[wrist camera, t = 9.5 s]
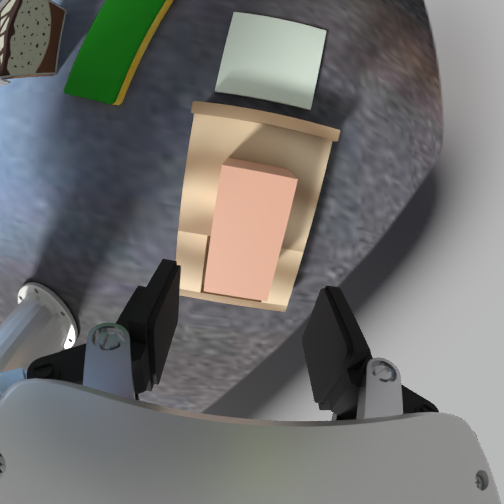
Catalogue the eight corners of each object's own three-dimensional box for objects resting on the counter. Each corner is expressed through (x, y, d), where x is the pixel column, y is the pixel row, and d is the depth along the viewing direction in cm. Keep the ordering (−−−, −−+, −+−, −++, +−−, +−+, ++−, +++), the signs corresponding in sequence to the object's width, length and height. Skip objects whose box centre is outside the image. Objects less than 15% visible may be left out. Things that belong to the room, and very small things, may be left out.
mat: (309, 110, 23) (310, 109, 23) (215, 92, 22) (214, 91, 22) (324, 32, 19) (326, 30, 19) (234, 14, 19) (233, 11, 18)
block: (267, 301, 22) (297, 179, 18) (203, 291, 22) (222, 165, 18) (264, 270, 27) (287, 169, 23) (211, 261, 26) (227, 157, 22)
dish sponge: (74, 94, 22) (62, 93, 19) (125, -10, 16) (116, -18, 14) (122, 106, 23) (112, 105, 21) (178, -5, 18) (173, -14, 15)
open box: (282, 296, 32) (286, 320, 28) (179, 279, 31) (170, 302, 27) (325, 129, 24) (340, 130, 20) (202, 105, 23) (192, 100, 19)
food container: (35, 18, 15) (-13, 5, 6) (69, 1, 15) (22, -21, 6) (23, 98, 20) (-33, 102, 11) (55, 85, 20) (-4, 82, 11)
